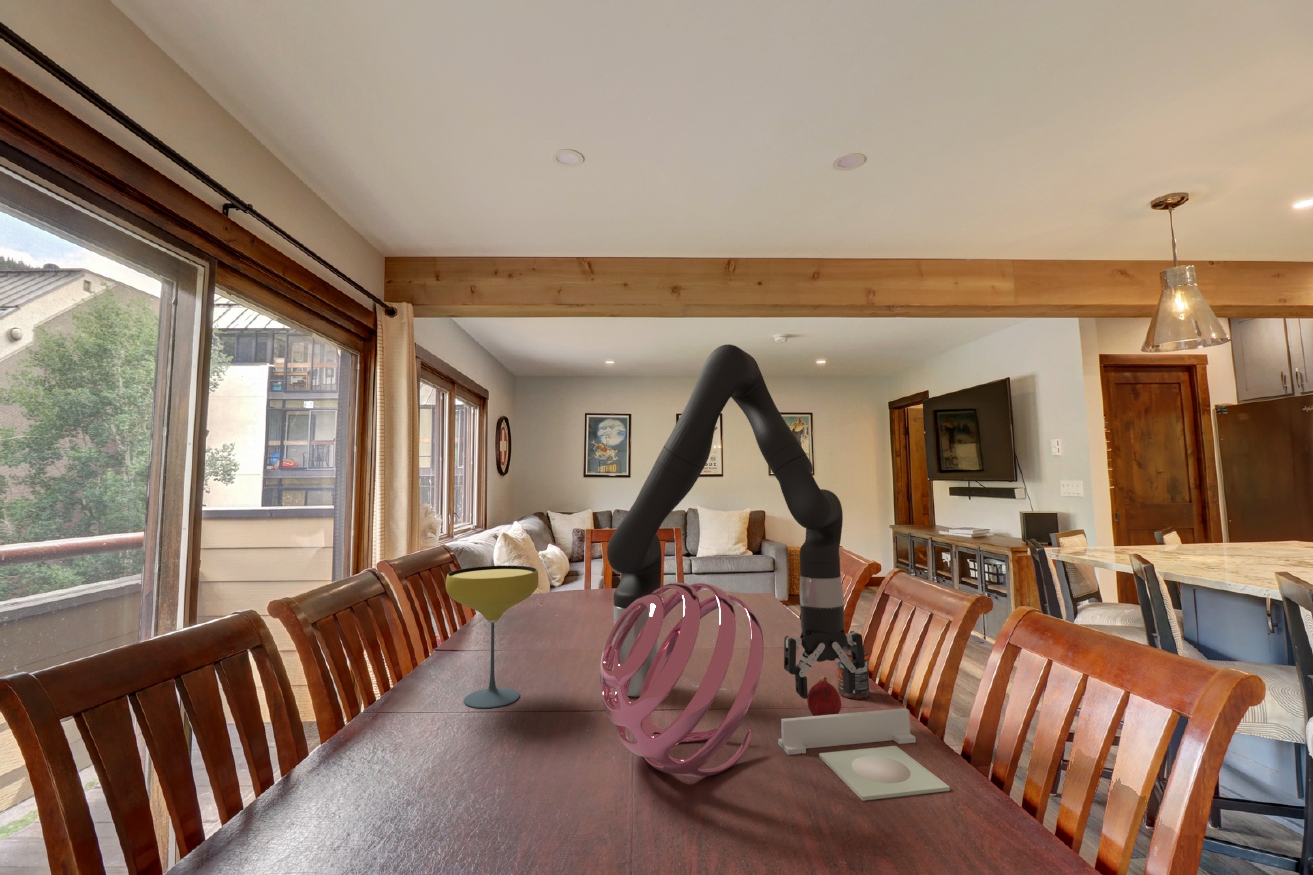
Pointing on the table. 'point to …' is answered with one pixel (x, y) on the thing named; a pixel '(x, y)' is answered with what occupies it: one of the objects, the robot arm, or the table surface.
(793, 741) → the low fence
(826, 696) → the onion
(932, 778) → the mat
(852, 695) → the supplement bottle
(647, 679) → the spiral basket
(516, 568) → the cocktail glass
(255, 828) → the table surface
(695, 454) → the robot arm
